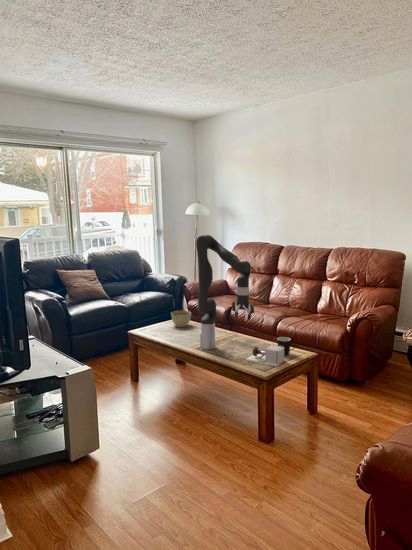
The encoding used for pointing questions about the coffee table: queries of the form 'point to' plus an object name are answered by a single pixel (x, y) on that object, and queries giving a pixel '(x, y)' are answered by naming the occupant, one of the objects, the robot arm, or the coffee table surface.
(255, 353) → the plunger
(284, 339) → the coffee mug
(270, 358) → the gauge body
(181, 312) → the planter bowl
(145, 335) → the coffee table surface
